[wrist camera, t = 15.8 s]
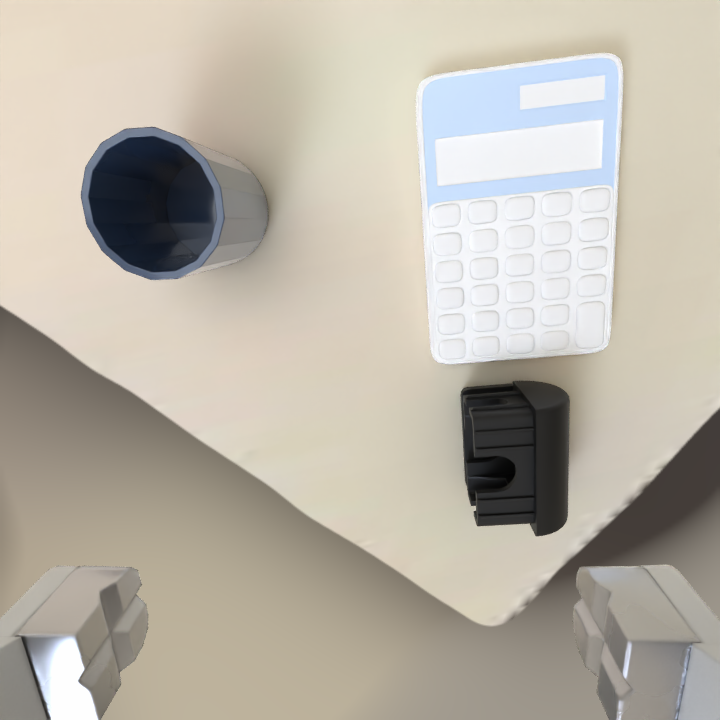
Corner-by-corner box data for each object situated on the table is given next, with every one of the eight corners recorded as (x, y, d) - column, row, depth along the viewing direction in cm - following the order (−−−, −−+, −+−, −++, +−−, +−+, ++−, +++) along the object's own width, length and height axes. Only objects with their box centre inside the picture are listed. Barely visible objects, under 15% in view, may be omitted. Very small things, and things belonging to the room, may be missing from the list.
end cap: (549, 485, 40) (580, 535, 33) (465, 490, 41) (480, 541, 34) (549, 374, 37) (584, 406, 31) (459, 381, 38) (474, 414, 31)
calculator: (430, 361, 37) (432, 368, 36) (413, 82, 32) (414, 73, 30) (602, 347, 36) (613, 354, 35) (615, 55, 31) (630, 45, 29)
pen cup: (262, 150, 34) (212, 122, 24) (273, 262, 36) (232, 276, 26) (156, 157, 34) (67, 132, 25) (174, 266, 36) (97, 282, 27)
